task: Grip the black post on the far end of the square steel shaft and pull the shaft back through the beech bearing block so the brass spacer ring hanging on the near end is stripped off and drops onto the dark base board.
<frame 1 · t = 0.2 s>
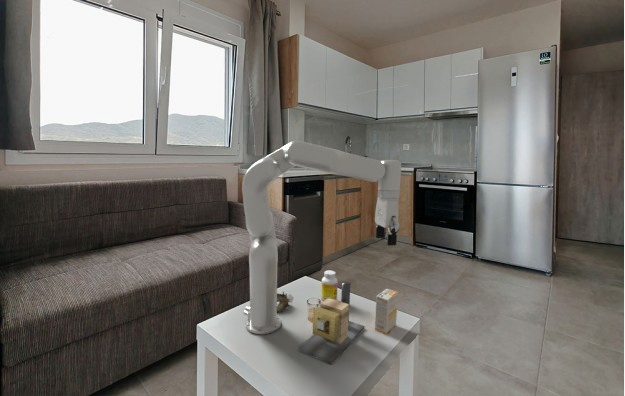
hand: (385, 241, 117), 31 cm above the table, tool pointing down, fingers open, 9 cm apart
spacer ring: (325, 335, 104), point 4 cm above the table, touching shaft
supplement box: (385, 328, 117), on the table
eagle figurine: (280, 308, 129), on the table
shaft: (334, 310, 108), point 10 cm above the table, slide at 0.0 cm, touching spacer ring
bearing block: (333, 338, 109), on the table
supplement bottle: (328, 301, 136), on the table
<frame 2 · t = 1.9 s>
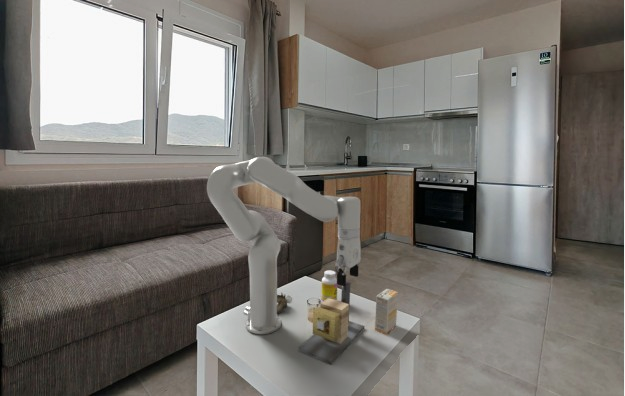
hand: (347, 280, 113), 18 cm above the table, tool pointing down, fingers open, 9 cm apart
eagle figurine: (279, 309, 128), on the table
everything else where it was.
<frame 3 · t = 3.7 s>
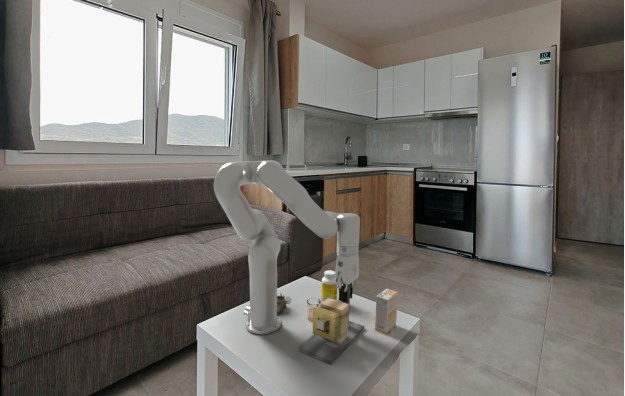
hand: (345, 298, 114), 11 cm above the table, tool pointing down, fingers closed on shaft, 3 cm apart
shaft: (334, 310, 108), point 10 cm above the table, slide at 0.0 cm, touching gripper, spacer ring
everything else where it was.
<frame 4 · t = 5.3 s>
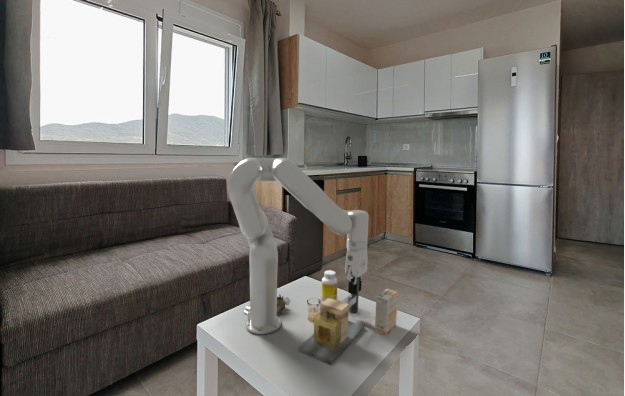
hand: (354, 291, 120), 11 cm above the table, tool pointing down, fingers closed on shaft, 3 cm apart
spacer ring: (326, 342, 105), point 1 cm above the table, touching bearing block
shaft: (345, 302, 114), point 10 cm above the table, slide at 7.5 cm, touching gripper
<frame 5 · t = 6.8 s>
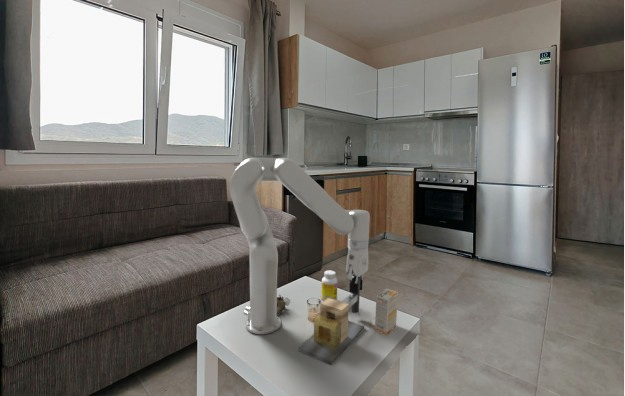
hand: (355, 290, 121), 11 cm above the table, tool pointing down, fingers closed on shaft, 3 cm apart
shaft: (346, 301, 115), point 10 cm above the table, slide at 8.5 cm, touching gripper
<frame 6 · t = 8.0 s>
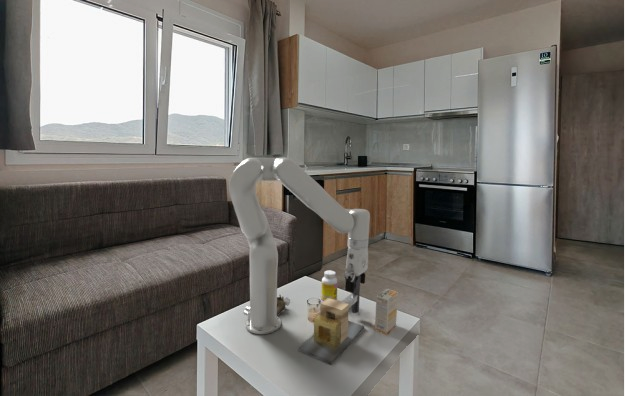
hand: (355, 286, 121), 13 cm above the table, tool pointing down, fingers open, 9 cm apart
shaft: (346, 301, 115), point 10 cm above the table, slide at 8.5 cm
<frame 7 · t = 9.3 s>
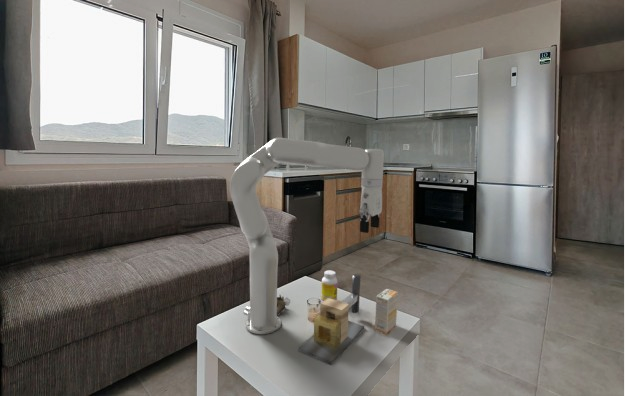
hand: (369, 229, 119), 34 cm above the table, tool pointing down, fingers open, 9 cm apart
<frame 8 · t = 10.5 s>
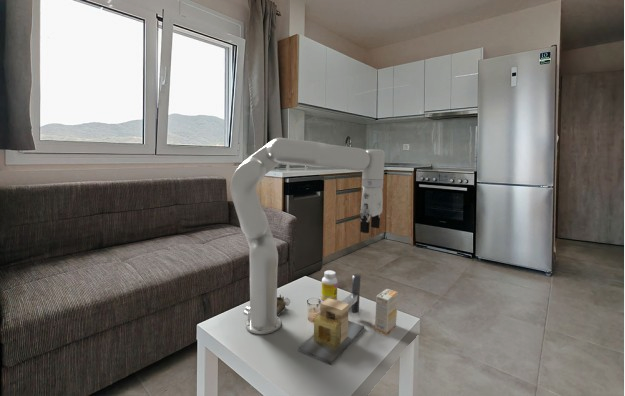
hand: (370, 230, 119), 34 cm above the table, tool pointing down, fingers open, 9 cm apart
eagle figurine: (277, 311, 127), on the table, touching arm
everything else where it was.
at the end: spacer ring point 1.0 cm above the table; shaft slide at 8.5 cm; spacer ring touching bearing block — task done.
